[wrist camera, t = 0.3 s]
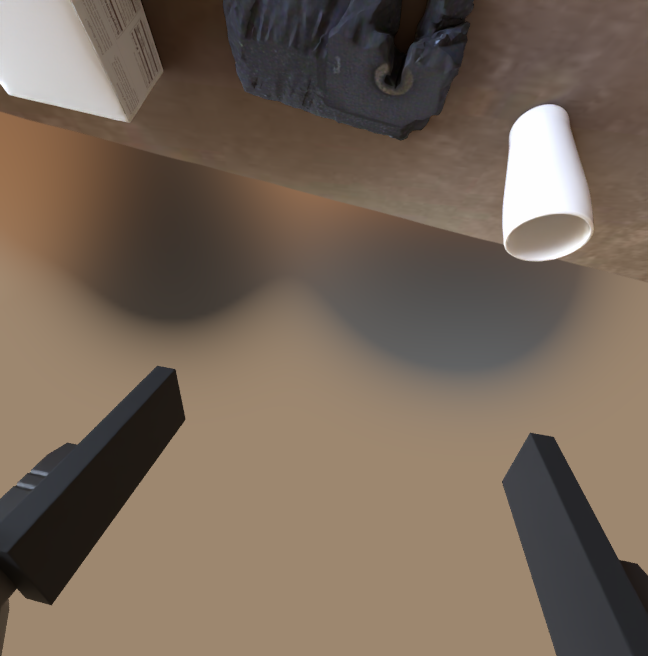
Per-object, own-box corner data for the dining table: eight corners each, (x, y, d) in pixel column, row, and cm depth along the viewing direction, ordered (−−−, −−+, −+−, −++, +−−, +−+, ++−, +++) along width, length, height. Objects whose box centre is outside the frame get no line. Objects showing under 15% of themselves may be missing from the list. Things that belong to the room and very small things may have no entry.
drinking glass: (549, 78, 31) (562, 197, 25) (593, 118, 33) (614, 236, 27) (487, 134, 37) (485, 241, 31) (528, 165, 39) (534, 271, 33)
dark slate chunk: (217, -124, 24) (193, -98, 22) (502, -36, 25) (502, -5, 23) (238, 92, 38) (225, 118, 36) (420, 142, 39) (417, 171, 37)
